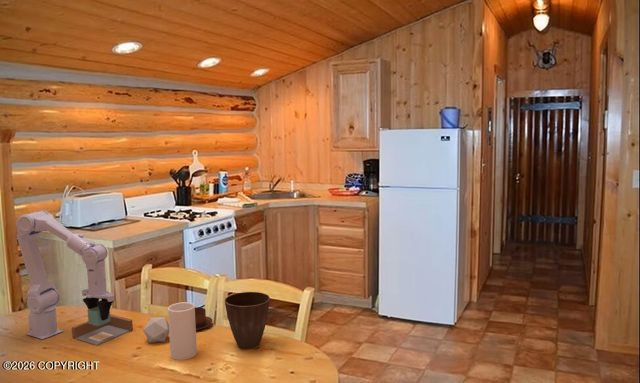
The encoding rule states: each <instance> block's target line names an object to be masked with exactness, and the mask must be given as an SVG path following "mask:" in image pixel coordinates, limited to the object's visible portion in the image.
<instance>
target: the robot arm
mask: <svg viewBox="0 0 640 383" xmlns="http://www.w3.org/2000/svg"><path fill="white" fill-rule="evenodd" d="M54 217H55V216H54V215H53V214H51V213H49V212H48V211H47V210H39V211H35V212H30V213H26V214H21V215H20V216H19V217H18V219H17V220H16V221H15V226H16V229H17V236H16V237H17V241H18V246H19V249H20V251H21V252H20V253H21V257H22V260H23V263H24V265H25V269H26V273H27V277H28V280H29V284H30V287H29V289H28V291H27V293H26V298H27V300H26V306H27V308H28V309H29V313H28V315H27V320H28V321H27V322H28V330H29V332H27V333H26V335H28V336H30V337H33V338H37V339H40V340H46V339H48V338H51V337H54V336H56V335H59V334H61V333H63V332H64V330H63V329H59V328H58V318H57V317H58V316H57V307H58V303H59V302H60V299H61V295H60V292H59V291H58V290H57V288H56V286H55V283H52V282H51V281H49V280H48V276H47V272H46V269H45V265H44V262H43V258H42V255H41V252H40V246H39V245H38V241H37V239H38V237H39V236H40V235H41V233H42V232H49V233H50V234H51V235H52V234H53V235H54V236H56V237H58V238H59V239H61V240H63V241H65V242H66V247H67V248H68V249H69V250H71V251H73V252H75V254H78V255H79V256H81V257H82V261H83V263H84V264H85V268H86V270H87V271H86V272H87V285H88V286H87V288H85V289H82V290H81V294H82V297H83V296H85V298H83V299H82V302H83V303H84V304H85V305H86V307H87V310H88V309H91V308H94V307H97V306H98V307H99V310H100V315H101V319H102V320H106V319H108V316H109V311H110V310H111V309H112V308H111V307H112V305H113V303H114V301H115V295H114V294H112V293H110V292H109V291H108V290H107V289H108V288H107V277H106V262H105V259H106V258H107V257H108V249H107V247H105V246H104V244H102V243H98V244H97V243H95V242H94V241H91V240H90V239H88V238H87V237H86V236H85V235H84V234H83V233H78V232H76V233H73V232H71V230H69V229H68V228H66V226H64V225H62V223H60V222H59V221H58V220H56V219H55V218H54ZM110 312H111V311H110Z"/></svg>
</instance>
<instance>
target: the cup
mask: <svg viewBox="0 0 640 383" xmlns="http://www.w3.org/2000/svg"><path fill="white" fill-rule="evenodd" d="M195 305H196V304H194V303H193V302H187V301H183V302H177V303H172V304H170V305H169V306H168V308H167V310H168V312H167V313H168V314H167V315H168V323H169V334H168V336H169V350H170V351H169V352H170V354H169V355H170V358H171V359H173V360H177V361H182V360H189V359H191V358H194V357H195V356H196V355H197V354H198V351H197V330H196V324H195Z"/></svg>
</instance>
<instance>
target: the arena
mask: <svg viewBox="0 0 640 383" xmlns="http://www.w3.org/2000/svg"><path fill="white" fill-rule="evenodd" d="M133 327H134V326H133V319H131V318H127V317H124V316H118V315H115V314H111V313H110V322H107V323H105V324H102V325H100V326H95V325H92V324H89V323H88V320H87V321H85V322H83V323H80V324H77V325H75V326H72V327H71V332H72V333H71V334H72V339H74V340H77V341H80V342H84V343H87V344H90V345H94V346H99V345H102V344H104V343H107V342H108V341H111V340H114V339H115V338H118V337H121V336H123V335H125V334H127V333H130V332H132V331H133V330H134V329H133Z"/></svg>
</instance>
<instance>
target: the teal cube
mask: <svg viewBox="0 0 640 383" xmlns="http://www.w3.org/2000/svg"><path fill="white" fill-rule="evenodd" d="M110 312H111V311H109V316H108V319H106V320H102V319H101V315H100V310H99V307H98V306H97V307H94V308H91V309H88V308H87V321H88V323H89V324H92V325H95V326H100V325H102V324H105V323H107V322H110V314H111V313H110Z"/></svg>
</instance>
